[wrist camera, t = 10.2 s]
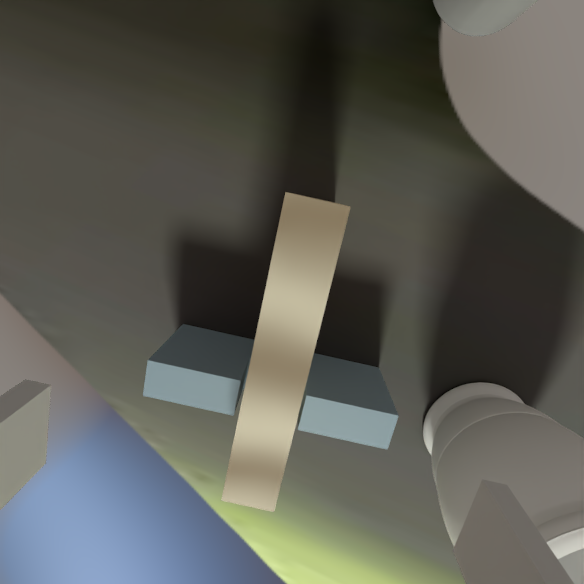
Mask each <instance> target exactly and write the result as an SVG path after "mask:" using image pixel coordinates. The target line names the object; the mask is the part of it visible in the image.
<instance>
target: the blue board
mask: <svg viewBox="0 0 584 584" xmlns="http://www.w3.org/2000/svg"><path fill="white" fill-rule="evenodd" d="M254 341H255V340H253V339H249V338H244V337H240V336H235V335H231V334H226V333H222V332H217V331H213V330H208V329H204V328H199V327H195V326H190V325H186V324H183V325H182V326H181V327H180V328H179V329H178V330H177V331H176V332H175V333H174V334H173V335H172V336H171V337H170V338H169V339H168V340H167V341H166V342H165V343H164V344H163V345H162V346H161V347H160V348H159V349H158V350H157V351H156V352H155V353H154V354H153V355H152V356H151V357H150V358H149V360H148V363H147V370H146V377H145V384H144V391H143V396H147V397H151V398H156V399H160V400H165V401H170V402H174V403H179V404H183V405H188V406H192V407H197V408H201V409H206V410H210V411H215V412H220V413H224V414H229V415H233V416H234V413H235V410H236V407H237V404H238V401H239V398H240V395H241V392H242V389H245V384H246V379H247V375H248V370H249V365H250V360H251V355H252V351H253V346H254ZM397 419H398V413H397V411H396V408H395V406H394V403H393V401H392V399H391V396H390V394H389V391H388V389H387V386H386V384H385V381H384V379H383V377H382V374H381V372H380V369H379V367H374V366H370V365H365V364H361V363H356V362H352V361H347V360H343V359H338V358H334V357H329V356H325V355H321V354H316V353H314V355H313V358H312V362H311V366H310V370H309V374H308V378H307V382H306V386H305V390H304V394H303V398H302V402H301V406H300V410H299V414H298V430H301V431H306V432H310V433H315V434H320V435H324V436H329V437H333V438H338V439H342V440H347V441H351V442H356V443H360V444H365V445H369V446H374V447H379V448H383V449H388V446H389V443H390V440H391V437H392V434H393V431H394V428H395V425H396V422H397Z"/></svg>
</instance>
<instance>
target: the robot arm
mask: <svg viewBox="0 0 584 584" xmlns="http://www.w3.org/2000/svg"><path fill="white" fill-rule="evenodd" d="M50 394H51V385H48V384H44V383H39V382H35V381H30V380H24V381H23V382H21V383H19V384H18V385H16V386H15V387H13V388H12V389H10V390H9V391H7V392H6V393H4V394H3V395H1V396H0V510H1V509H2V508H3V507H4V506H5V505H6V504H7V503H8V502H9V501H10V499H12V497H13V496H14V495H15V494H16V493H17V492H18V491H19V490H20V489H21V488H22V487H23V486H24V485H25V484H26V483H27V482H28V481H29V480H30V479H31V478H32V477H33V476H34V475H35V474H36V473H37V472H38V471H39V470H40V468H41V467H42V466H43V465H44V464H45V463H46V453H47V438H48V423H49V408H50ZM453 552H454V555H455V557H456V560H457V562H458V565H459V567H460V570H461V572H462V575H463V577H464V580H465V582H466V584H574V583H573V581H572V580H571V578H570V577H569V575H568V574H567V572H566V571H565V569H564V568H563V566H562V565H561V563H560V562H559V560H558V559H557V558H556V556H555V555H554V553H553V552H552V550H551V549H550V547H549V546H548V544H547V543H546V541H545V540H544V538H543V537H542V536H541V534H540V533H539V531H538V530H537V528H536V527H535V525H534V524H533V522H532V521H531V519H530V518H529V516H528V515H527V514H526V512H525V511H524V509H523V508H522V506H521V505H520V503H519V502H518V500H517V499H516V497H515V496H514V494H513V493H512V492H511V490H510V489H509V487H508V486H507V485H506V484H501V483H497V482H492V481H488V480H483V479H482V481H481V483H480V486H479V488H478V491H477V493H476V496H475V498H474V500H473V503H472V505H471V508H470V510H469V512H468V515H467V517H466V520H465V522H464V524H463V527H462V529H461V532H460V534H459V537H458V539H457V541H456V544H455V546H454V549H453Z"/></svg>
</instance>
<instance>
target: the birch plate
mask: <svg viewBox="0 0 584 584" xmlns="http://www.w3.org/2000/svg"><path fill="white" fill-rule="evenodd" d="M349 211H350V207H349V206H346V205H342V204H338V203H335V202H330V201H326V200H322V199H317V198H313V197H308V196H304V195H299V194H295V193H288V192H285V197H284V201H283V206H282V211H281V216H280V221H279V225H278V230H277V235H276V240H275V245H274V250H273V254H272V259H271V264H270V269H269V274H268V278H267V283H266V288H265V293H264V298H263V302H262V307H261V312H260V317H259V322H258V326H257V331H256V336H255V341H254V346H253V351H252V355H251V360H250V365H249V370H248V375H247V379H246V384H245V389H244V394H243V399H242V403H241V408H240V413H239V418H238V423H237V427H236V432H235V437H234V442H233V447H232V451H231V456H230V461H229V466H228V471H227V476H226V480H225V485H224V490H223V495H222V500H221V501H226V502H231V503H235V504H240V505H244V506H249V507H254V508H258V509H263V510H268V511H272V512H274V510H275V506H276V502H277V498H278V494H279V490H280V486H281V482H282V478H283V474H284V470H285V466H286V462H287V458H288V454H289V450H290V446H291V442H292V438H293V434H294V430H295V426H296V422H297V418H298V414H299V410H300V406H301V402H302V398H303V394H304V390H305V386H306V382H307V378H308V374H309V370H310V366H311V362H312V358H313V355H314V351H315V347H316V343H317V339H318V335H319V331H320V327H321V323H322V319H323V315H324V311H325V307H326V303H327V299H328V295H329V291H330V287H331V283H332V279H333V275H334V271H335V267H336V263H337V259H338V255H339V251H340V247H341V243H342V239H343V235H344V231H345V227H346V223H347V219H348V215H349Z"/></svg>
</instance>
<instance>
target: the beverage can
mask: <svg viewBox="0 0 584 584" xmlns="http://www.w3.org/2000/svg"><path fill="white" fill-rule="evenodd" d="M537 1H538V0H433V3H434V6H435V8H436V10H437V12H438V14H439V16H440V17H441V19H442V20H443V21H444V22H445V23H446V24H447V25H448V26H450V27H451V28H452V29H454V30H455V31H457V32H459V33H461V34H464V35H469V36H485V35H489V34H493V33H495V32H497V31H500V30H502V29H503V28H505V27H507V26H508V25H510V24H511V23H512V22H513V21H514V20H516V19H517V18H518V17H519V16H520V15H521V14H523V13H524V12H525V11H526V10H527V9H529V8H530V7H531V6H532V5H533V4H534V3H536V2H537Z"/></svg>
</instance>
